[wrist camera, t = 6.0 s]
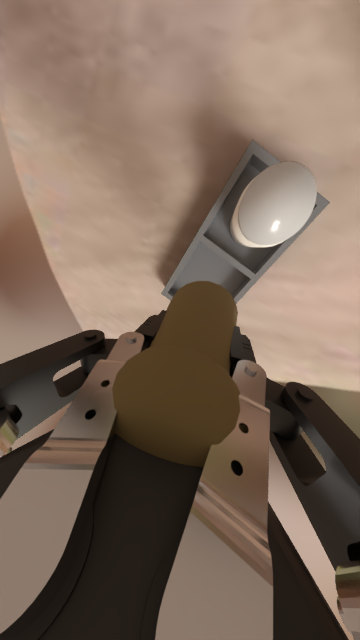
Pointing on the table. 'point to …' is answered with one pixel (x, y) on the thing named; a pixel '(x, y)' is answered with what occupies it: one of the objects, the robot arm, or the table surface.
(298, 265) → the table surface
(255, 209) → the salt shaker
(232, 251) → the caddy
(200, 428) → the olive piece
